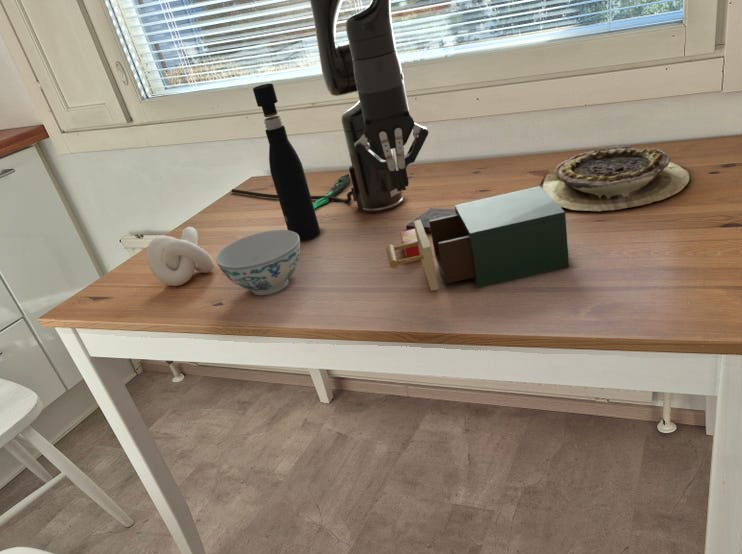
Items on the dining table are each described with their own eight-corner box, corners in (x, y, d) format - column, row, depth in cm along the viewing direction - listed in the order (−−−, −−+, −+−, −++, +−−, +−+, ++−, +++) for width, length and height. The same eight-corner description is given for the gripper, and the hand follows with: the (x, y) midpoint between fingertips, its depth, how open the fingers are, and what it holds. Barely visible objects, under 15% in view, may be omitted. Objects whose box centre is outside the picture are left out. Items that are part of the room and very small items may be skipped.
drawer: (397, 298, 106) (387, 256, 102) (390, 267, 116) (381, 228, 113) (515, 272, 106) (510, 228, 102) (497, 243, 116) (492, 203, 112)
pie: (702, 160, 133) (703, 134, 130) (669, 214, 114) (669, 186, 112) (565, 163, 148) (563, 140, 145) (516, 211, 129) (513, 186, 127)
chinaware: (273, 311, 113) (260, 269, 109) (213, 302, 121) (198, 263, 117) (327, 271, 123) (316, 231, 119) (267, 265, 131) (255, 228, 127)
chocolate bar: (430, 208, 137) (509, 212, 127) (431, 212, 138) (510, 216, 127) (405, 225, 131) (486, 231, 121) (406, 230, 132) (487, 236, 122)
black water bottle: (326, 229, 142) (285, 79, 127) (310, 241, 137) (266, 88, 122) (301, 229, 145) (258, 83, 130) (284, 242, 140) (239, 92, 125)
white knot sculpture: (168, 269, 140) (151, 229, 135) (224, 258, 139) (209, 217, 135) (154, 293, 130) (136, 250, 126) (214, 281, 130) (198, 237, 125)
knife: (345, 173, 171) (362, 172, 169) (345, 176, 172) (362, 175, 170) (296, 209, 155) (315, 208, 152) (297, 212, 155) (316, 211, 153)
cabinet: (477, 287, 106) (469, 233, 101) (462, 254, 117) (454, 205, 113) (569, 266, 105) (565, 211, 101) (544, 236, 117) (539, 185, 112)
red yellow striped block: (426, 258, 119) (423, 242, 118) (407, 262, 119) (404, 246, 118) (421, 242, 125) (418, 227, 124) (403, 247, 126) (400, 231, 124)
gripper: (418, 71, 110) (435, 175, 119) (339, 90, 110) (362, 191, 120) (424, 79, 104) (442, 187, 113) (340, 98, 104) (365, 205, 113)
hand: (401, 189), depth 116 cm, fingers closed
